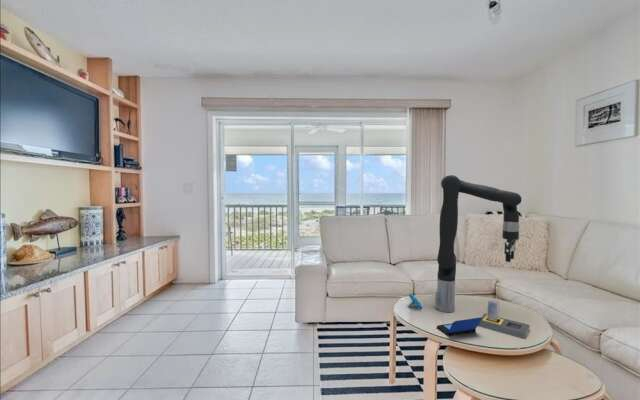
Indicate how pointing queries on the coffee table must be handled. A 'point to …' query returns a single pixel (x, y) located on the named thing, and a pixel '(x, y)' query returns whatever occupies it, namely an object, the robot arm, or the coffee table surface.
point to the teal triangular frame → (414, 301)
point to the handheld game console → (460, 327)
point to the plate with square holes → (506, 326)
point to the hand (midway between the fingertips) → (509, 260)
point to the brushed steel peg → (493, 311)
